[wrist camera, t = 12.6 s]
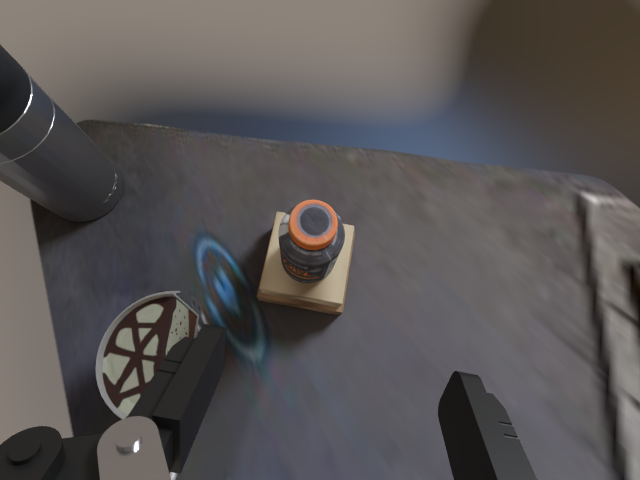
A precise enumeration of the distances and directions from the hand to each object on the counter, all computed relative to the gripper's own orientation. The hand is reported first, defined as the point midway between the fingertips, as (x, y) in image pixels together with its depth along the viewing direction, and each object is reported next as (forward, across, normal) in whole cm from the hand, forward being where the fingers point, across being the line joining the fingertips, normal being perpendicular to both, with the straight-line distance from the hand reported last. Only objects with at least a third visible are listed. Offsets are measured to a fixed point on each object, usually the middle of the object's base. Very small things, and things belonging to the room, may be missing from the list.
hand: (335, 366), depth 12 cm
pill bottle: (+25, +2, +10) cm, 27 cm away
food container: (+20, +16, +24) cm, 35 cm away
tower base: (+29, +2, +14) cm, 32 cm away
